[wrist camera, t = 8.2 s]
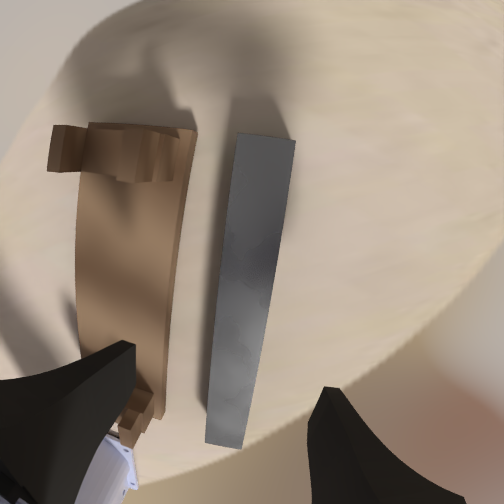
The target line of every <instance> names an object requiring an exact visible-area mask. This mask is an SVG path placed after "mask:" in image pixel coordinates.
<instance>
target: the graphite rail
mask: <svg viewBox="0 0 504 504" xmlns="http://www.w3.org/2000/svg"><path fill="white" fill-rule="evenodd" d="M295 143H296V141H295V140H289V139H282V138H276V137H268V136H261V135H253V134H244V133H238V135H237V142H236V149H235V156H234V163H233V170H232V178H231V185H230V193H229V201H228V208H227V216H226V224H225V233H224V241H223V250H222V258H221V267H220V276H219V285H218V295H217V304H216V314H215V324H214V335H213V345H212V356H211V367H210V379H209V391H208V404H207V418H206V432H205V443H208V444H213V445H218V446H224V447H229V448H235V449H242V444H243V440H244V435H245V430H246V425H247V421H248V416H249V411H250V406H251V401H252V396H253V391H254V386H255V381H256V376H257V371H258V365H259V360H260V355H261V350H262V344H263V339H264V334H265V328H266V323H267V317H268V312H269V306H270V300H271V295H272V289H273V283H274V277H275V272H276V266H277V260H278V254H279V248H280V242H281V235H282V229H283V223H284V217H285V210H286V204H287V198H288V191H289V184H290V178H291V171H292V164H293V157H294V150H295Z"/></svg>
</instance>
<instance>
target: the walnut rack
mask: <svg viewBox="0 0 504 504" xmlns="http://www.w3.org/2000/svg"><path fill="white" fill-rule="evenodd" d="M197 136H198V133H197V132H195V131H193V130H188V129H179V128H170V127H160V126H149V125H135V124H119V123H95V122H89V124H88V129H87V128H82V127H76V126H69V125H53V131H52V136H51V142H50V149H49V156H48V164H47V171H49V172H58V173H62V172H81V175H80V184H79V193H78V205H77V219H76V240H75V287H76V308H77V322H78V334H79V343H80V352H81V359H82V358H85V357H87V356H89V355H91V354H93V353H95V352H97V351H99V350H101V349H104V348H106V347H108V346H110V345H112V344H114V343H116V342H118V341H120V340H125V341H128V342H131V343H134V344H136V386H135V388H134V390H133V392H132V394H131V396H130V398H129V400H128V402H127V404H126V406H125V407H124V409H123V410H122V412H121V413H120V415H119V416H118V418H117V419H116V421H115V423H118V432H119V438H120V444H121V445H123V446H125V447H128V448H130V449H133V448H134V446H135V444H136V442H137V440H138V438H139V436H140V434H141V432H142V433H145V431H146V429H147V427H148V425H149V423H150V421H151V419H152V418H155V419H158V420H161V419H162V417H163V415H164V413H165V405H166V381H167V363H168V348H169V335H170V323H171V312H172V301H173V292H174V283H175V274H176V265H177V257H178V250H179V242H180V235H181V228H182V221H183V215H184V208H185V202H186V196H187V190H188V184H189V178H190V172H191V167H192V161H193V156H194V151H195V146H196V141H197Z"/></svg>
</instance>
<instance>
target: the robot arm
mask: <svg viewBox="0 0 504 504" xmlns="http://www.w3.org/2000/svg"><path fill="white" fill-rule="evenodd" d="M135 386H136V344H134V343H131V342H128V341H125V340H120V341H118V342H116V343H114V344H112V345H110V346H108V347H106V348H104V349H101V350H99V351H97V352H95V353H93V354H91V355H89V356H87V357H85V358H82V359H80V360H78V361H75V362H73V363H70V364H68V365H65V366H63V367H60V368H57V369H54V370H51V371H48V372H44V373H41V374H37V375H33V376H27V377H21V378H16V379H8V380H0V504H121V503H122V501H123V499H124V497H125V495H126V492H127V490H128V488H132V489H134V490H138V488H139V486H138V480H137V475H136V469H135V463H134V457H133V450H132V449H130V448H128V447H125V446H123V445H121V444H120V439H118V438H116V437H113V436H111V435H109V434H107V433H108V431H109V430H110V428H111V427H112V425H113V424H114V422H115V421H116V419H117V418H118V416H119V415H120V413H121V412H122V410H123V409H124V407H125V406H126V404H127V402H128V400H129V398H130V396H131V394H132V392H133V390H134V388H135ZM307 447H308V458H309V469H310V477H311V488H312V504H466V502H465V499H464V497H462V496H460V495H458V494H455V493H453V492H450V491H448V490H446V489H444V488H442V487H440V486H438V485H436V484H434V483H433V482H431V481H429V480H427V479H426V478H424V477H423V476H421V475H420V474H418V473H417V472H415V471H414V470H413V469H411V468H410V467H409V466H407V465H406V464H405V463H403V462H402V461H401V460H400V459H398V458H397V457H396V456H395V455H394V454H393V453H392V452H391V451H390V450H389V449H388V448H387V447H386V446H385V445H384V444H383V443H382V442H381V441H380V440H379V439H378V438H377V437H376V435H375V434H374V433H373V432H372V431H371V430H370V428H369V427H368V426H367V425H366V423H365V422H364V421H363V420H362V418H361V417H360V416H359V414H358V413H357V412H356V410H355V409H354V408H353V406H352V405H351V404H350V402H349V401H348V399H347V398H346V396H345V395H344V394H343V392H342V391H341V390H340V388H334V387H325V386H324V388H323V390H322V393H321V395H320V397H319V399H318V402H317V404H316V406H315V408H314V410H313V413H312V415H311V417H310V419H309V421H308V433H307Z"/></svg>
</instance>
